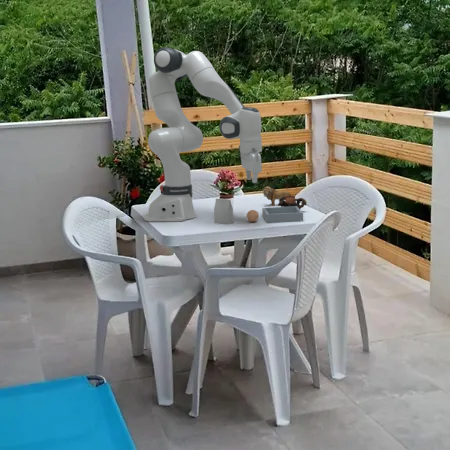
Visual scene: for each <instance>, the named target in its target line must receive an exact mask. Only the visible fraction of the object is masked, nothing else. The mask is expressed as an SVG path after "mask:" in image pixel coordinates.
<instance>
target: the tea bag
mask: <svg viewBox="0 0 450 450" xmlns="http://www.w3.org/2000/svg"><path fill="white" fill-rule="evenodd" d="M233 209H234V208H233V205H232V202H231V199H228V198H215V202H214V207H213V214H214V215H213V218H214V224H223V225H230V224H232V223H233V224H234V210H233Z"/></svg>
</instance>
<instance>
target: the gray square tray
mask: <svg viewBox="0 0 450 450" xmlns="http://www.w3.org/2000/svg"><path fill="white" fill-rule="evenodd" d="M261 210H262V213H261V214H262V216H261V217H262V218H263V219H264V220H265V222H266V224H267V223H269V224H271V223H273V222H275V223H291V222H304V212H303V211H302V210H301V209H299V208H298V207H297V206H292V207H281V206H278V207H277V206H271V207H262V208H261Z"/></svg>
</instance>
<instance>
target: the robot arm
mask: <svg viewBox="0 0 450 450" xmlns="http://www.w3.org/2000/svg"><path fill="white" fill-rule="evenodd" d="M153 55H154V56H153V64H154V66H155V68H156V69H157V71H156V72H153V73H152V74H151V75H150V76H149V79H148V84H149V93H150V98H151V102H152V105H153V110H154V114H155V116H156V118H157V119H158V120H159V121H162V122H163V123H165V124H166V125H167V126H168V127H161V128H158V129H155V130H153V131H152V130H151V132H150V133H149V135H148V139H147V145H148V147H149V149H150V151H152V153H154V154H155V155H156V157H158V158H159V159H160V161H161V164H162V167H163V173H164V185H160V186H159V190H160V194H159V195H158V196H157V197H156V198H155V199H154V200H153V201H151V203H149V207H148V213H146V214H144V215H143V220H144V221H145V222H183V221H187V220H190V219H195V218H196V216H197V215H196V212H195V209H194V208H195V207H194V203H193V186H192V185H193V184H192V180H191V167H190V165H189V164H188V163H186V162H185V161H183V160H182V159H181V156H180V153H186V152H192V151H194V150H197V149H199V148H201V146H202V145H203V141H204V135H203V132H202V130H201V128H199V127H198V126H196V125H194V124H193V122H191V121H190V120H189V119H188V118H187V116H186V115H185V113H184V111H183V108H182V107H181V102H180V100H179V96H178V92H177V89H176V86H175V83H176V82H177V83H178V82H180V81H181V80H182V79H184V78H185V77H188V79H189V81H190V82H191V84H192V86H193V87H194V89H195V90H196V91H197V92H198V93H199V94H200V95H201V96H203V97H207V98H212V99H215V100H216V101H219V102H220V103H222V104H223V105H224V106H225V107H226V109H227V110H228V111H229V113H230V115H226V116H223V118H222V119H221V120H220V122H219V132H220V134H221V135H222V137H223V138H225V139H228V140H234V139H239V145H238V151H240V163H241V167H242V168H243V169H245V175H246V180H248V181H249V180H250V181H251V182H252V183H253V184H257V183H258V177H259V173H262V156H261V154H260V153H261V152H262V151H263V143H262V142H263V141H262V135H261V132H262V118H261V113H260V110H259V109H257V108H256V107H252V106H244V104H243V103H242V102H241V100H240V99H239V97H238V96H237V94H236V93H235V92H234V90H233V89H232V88H231V86H229V85H228V84H227V83H226V82H225V81H224V80H223V79H222V78H221V77H220V75H219V74H218V72H217V71H216V70H215V68H214V66H213V64H212V63H211V62H210V60H209V59H208V58H207V57H206V55H205V54H204V53H203V52H201V51H199V50H193V51H190V52H189V53H187V54H186V53H184V52H183V51H180V50H178V49H174V48H171V47H170V46H169V47H160V48H159V49H158V50H156V52H155V53H154V54H153Z"/></svg>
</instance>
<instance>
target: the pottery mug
mask: <svg viewBox="0 0 450 450" xmlns="http://www.w3.org/2000/svg"><path fill="white" fill-rule="evenodd" d="M300 203H301V205H300ZM305 205H306V201H305V199H304V198H302V197H299V198H296V196H295V195H292V194H291V196H290V195H289V196H286V197H282V198H280V199H279V200H278V205H277V206H278V207H292V206H297V207H298V208H299V209H300V210H301V209H302V208H304V207H305Z"/></svg>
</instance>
